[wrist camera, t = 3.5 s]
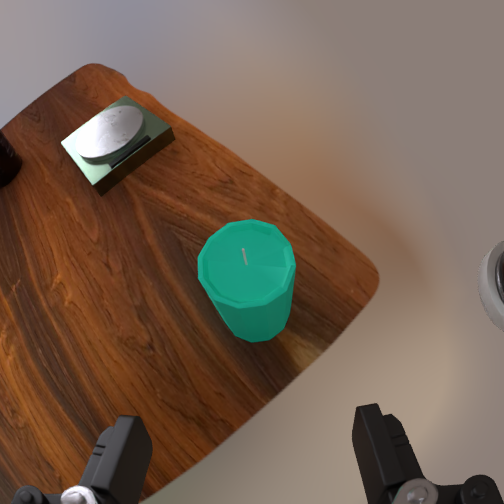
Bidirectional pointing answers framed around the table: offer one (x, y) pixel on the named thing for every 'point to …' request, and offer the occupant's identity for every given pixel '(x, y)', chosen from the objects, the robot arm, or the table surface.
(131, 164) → the scale
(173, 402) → the table surface
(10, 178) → the supplement bottle
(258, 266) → the candle
